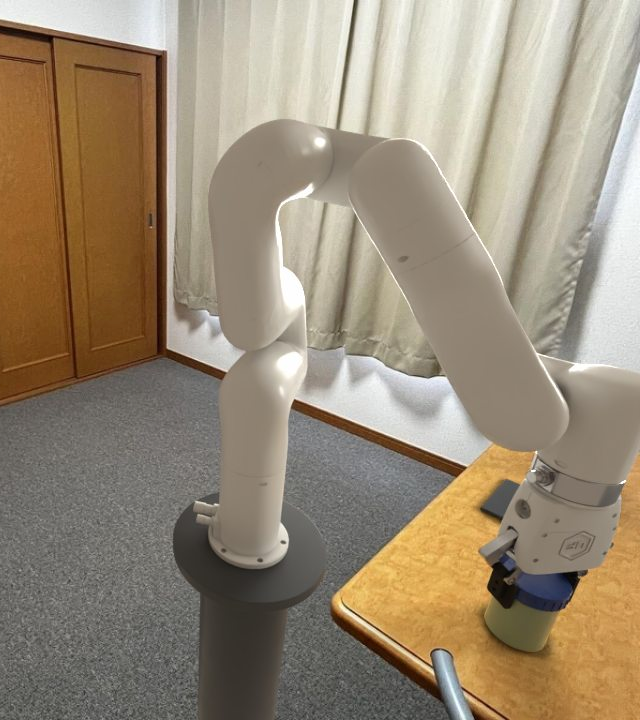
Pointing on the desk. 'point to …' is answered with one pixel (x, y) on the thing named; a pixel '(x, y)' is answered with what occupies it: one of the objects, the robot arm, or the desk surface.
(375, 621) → the desk surface
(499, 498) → the plate
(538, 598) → the lid
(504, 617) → the jar
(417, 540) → the desk surface
